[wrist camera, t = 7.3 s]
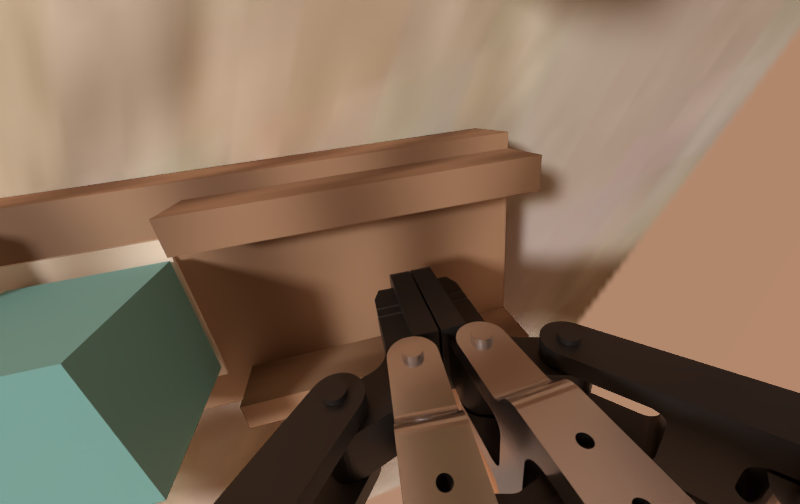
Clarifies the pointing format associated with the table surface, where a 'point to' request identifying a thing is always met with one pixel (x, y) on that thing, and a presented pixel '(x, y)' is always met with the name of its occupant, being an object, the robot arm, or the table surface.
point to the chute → (289, 249)
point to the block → (100, 387)
